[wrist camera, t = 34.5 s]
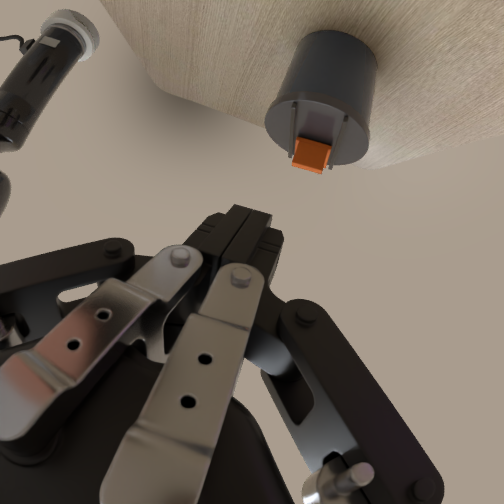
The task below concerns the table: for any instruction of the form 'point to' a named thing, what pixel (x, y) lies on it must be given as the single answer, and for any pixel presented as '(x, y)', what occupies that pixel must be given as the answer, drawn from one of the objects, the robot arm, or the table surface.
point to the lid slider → (311, 155)
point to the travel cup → (326, 97)
